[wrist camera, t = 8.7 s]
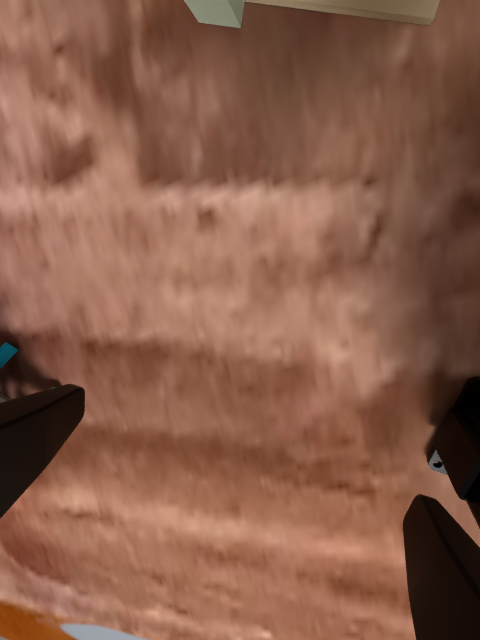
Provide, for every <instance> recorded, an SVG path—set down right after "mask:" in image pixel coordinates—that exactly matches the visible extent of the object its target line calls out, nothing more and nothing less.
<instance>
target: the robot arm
mask: <svg viewBox="0 0 480 640" xmlns="http://www.w3.org/2000/svg"><path fill="white" fill-rule="evenodd" d="M477 384H480V377H477V376H476V377H472V378H470V379H468V381H467V382H466V384H465V386H464V388H463V390H462V392H461V393H460V395H459V397H458V399H457V401H456V403H455V405H454V407H452V408H451V409H449V411H448V413H447V415H446V417H445V419H444V420H443V422H442V424H441V426H440V428H439V430H438V432H437V434H436V436H435V438H434V440H433V444H434V445H433V447H432V449H431V451H430V453H429V455H428V457H427V462H428V465H429V467H430V468H431V469H432V470H434V471H437V472H440V473H444V474H447V475H448V476H449V478H450V481H451V483H452V485H453V487H454V489H455V491H456V493H457V495H458V497H459V498H460V499H462V500H465V501H467V503H468V505H469V508H470V510H471V512H472V514H473V516H474V518H475V520H476V522H477V524H478V526H479V528H480V387H479V388H477V389H475V388H474V386H475V385H477ZM84 411H85V390H84V388H82V387H80V386H77V385H74V384H66V385H63V386H59V387H55V388H52V389H48V390H45V391H41V392H37V393H34V394H30V395H27V396H23V397H19V398H16V399H12V400H9V401H5V402H1V403H0V518H1V517H2V516H3V515H4V514H5V513H6V512H7V511H8V509H9V508H10V507H11V506H12V505H13V504H14V503H15V502H16V501H17V499H18V498H19V497H20V496H21V495H22V494H23V493H24V492H25V490H26V489H27V488H28V487H29V486H30V485H31V484H32V483H33V482H34V480H35V479H36V478H37V477H38V476H39V475H40V474H41V473H42V471H43V470H44V469H45V468H46V467H47V465H48V464H49V463H50V462H51V460H52V459H53V458H54V456H55V455H56V454H57V452H58V451H59V450H60V448H61V447H62V446H63V444H64V443H65V441H66V440H67V439H68V437H69V436H70V435H71V433H72V432H73V431H74V429H75V428H76V427H77V425H78V424H79V423H80V421H81V420H82V418H83V415H84ZM436 461H440V462H439V463H434V462H436ZM403 535H404V547H405V560H406V572H407V584H408V593H409V601H410V607H411V613H412V618H413V624H414V629H415V635H416V640H480V547H479V546H478V545H477V544H476V543H475V542H474V541H473V540H472V538H471V537H470V536H469V535H468V534H467V533H466V532H465V531H464V530H463V528H462V527H461V526H460V525H459V524H458V523H457V522H456V521H455V519H454V518H453V517H452V516H451V515H450V514H449V513H448V512H447V511H446V509H445V508H444V507H443V506H442V505H441V504H440V503H439V502H438V501H437V500H436V499H434V498H431V497H428V496H425V495H421V494H418V495H417V496H415V498H414V500H413V501H412V503H411V505H410V507H409V509H408V511H407V513H406V515H405V517H404V520H403Z"/></svg>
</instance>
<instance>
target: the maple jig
mask: <svg viewBox="0 0 480 640" xmlns="http://www.w3.org/2000/svg"><path fill="white" fill-rule="evenodd" d="M245 2H252V3H260V4H267V5H275V6H283V7H290V8H298V9H306V10H314V11H321V12H329V13H337V14H345V15H352V16H360V17H368V18H376V19H383V20H391V21H399V22H407V23H414V24H422V25H430V24H431V23H432V21H433V20H434V18H435V15H436V12H437V8H438V5H439V2H440V0H245Z"/></svg>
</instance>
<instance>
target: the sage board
mask: <svg viewBox="0 0 480 640" xmlns="http://www.w3.org/2000/svg"><path fill="white" fill-rule="evenodd" d="M184 1H185V2H186V4H187V5H188V7H189V8H190V10H191V11H192V13H193V14H194V16H195V17H196V19H197V20H198V22H200V23H207V24H214V25H221V26H229V27H236V28H241V23H242V16H243V9H244V3H245V0H184Z"/></svg>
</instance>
